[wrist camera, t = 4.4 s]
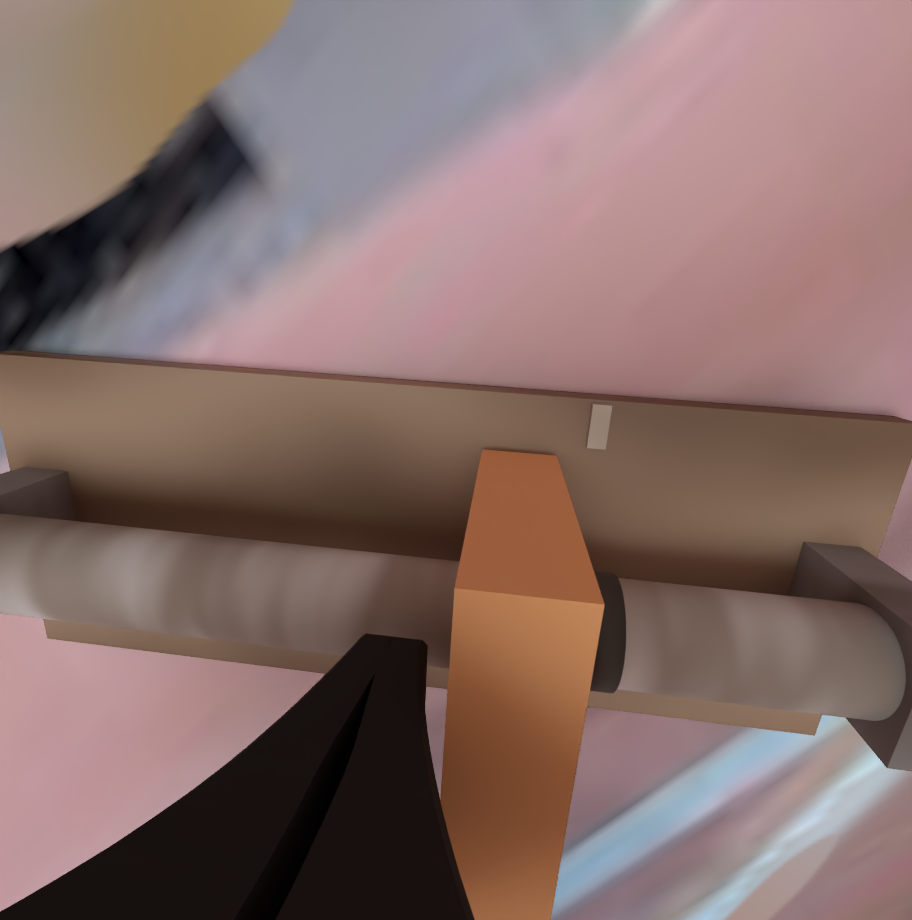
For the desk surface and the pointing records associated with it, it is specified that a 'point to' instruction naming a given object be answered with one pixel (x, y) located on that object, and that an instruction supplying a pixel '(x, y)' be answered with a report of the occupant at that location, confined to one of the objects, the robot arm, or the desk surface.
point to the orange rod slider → (517, 684)
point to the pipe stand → (460, 529)
